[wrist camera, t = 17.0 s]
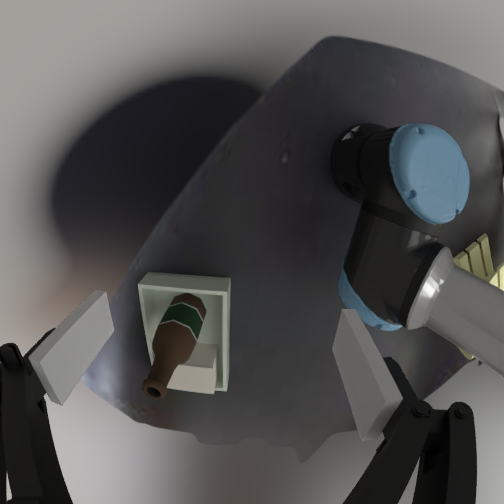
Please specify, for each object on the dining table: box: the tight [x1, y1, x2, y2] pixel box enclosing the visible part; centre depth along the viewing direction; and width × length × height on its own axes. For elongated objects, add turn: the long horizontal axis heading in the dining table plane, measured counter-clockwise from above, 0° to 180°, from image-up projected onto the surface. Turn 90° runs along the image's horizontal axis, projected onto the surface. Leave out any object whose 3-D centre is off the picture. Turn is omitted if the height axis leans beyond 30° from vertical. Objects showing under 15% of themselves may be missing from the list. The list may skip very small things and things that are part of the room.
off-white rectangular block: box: [167, 343, 218, 394], centre depth 55 cm, size 12×8×8 cm, turn 87°
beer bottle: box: [142, 293, 207, 399], centre depth 43 cm, size 8×8×24 cm
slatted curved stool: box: [453, 233, 504, 360], centre depth 43 cm, size 30×16×18 cm, turn 122°
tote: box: [138, 272, 231, 391], centre depth 55 cm, size 17×26×6 cm, turn 177°
